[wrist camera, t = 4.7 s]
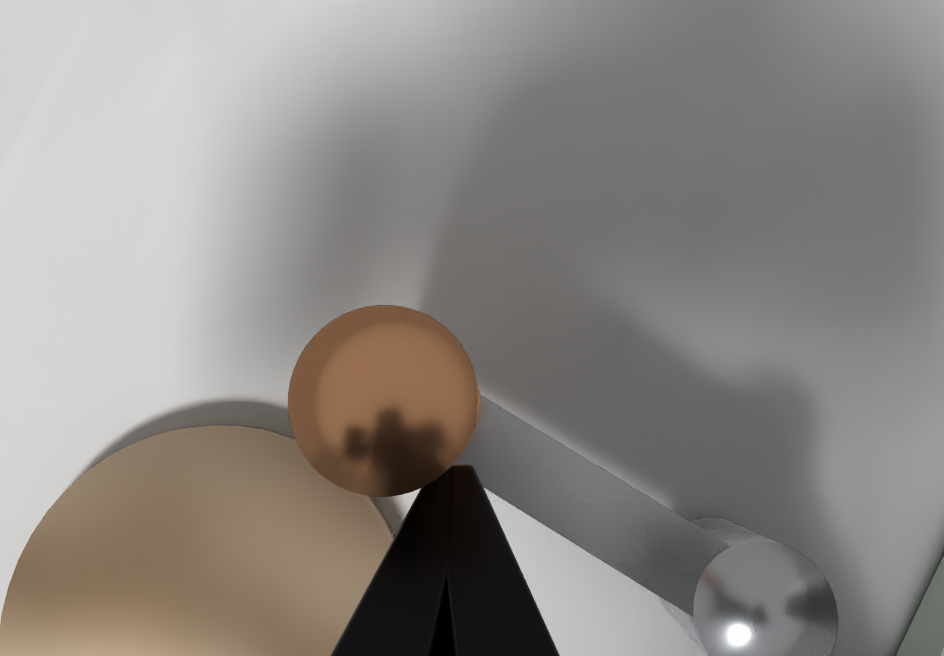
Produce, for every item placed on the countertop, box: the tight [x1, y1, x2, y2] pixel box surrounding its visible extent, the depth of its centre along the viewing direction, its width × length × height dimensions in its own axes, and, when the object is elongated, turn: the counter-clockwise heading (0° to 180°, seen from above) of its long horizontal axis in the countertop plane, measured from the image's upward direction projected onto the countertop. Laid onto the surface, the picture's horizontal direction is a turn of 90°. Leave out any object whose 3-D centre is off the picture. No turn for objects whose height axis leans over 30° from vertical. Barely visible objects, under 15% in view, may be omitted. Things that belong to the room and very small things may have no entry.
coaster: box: [0, 425, 394, 656], centre depth 15 cm, size 10×10×1 cm
